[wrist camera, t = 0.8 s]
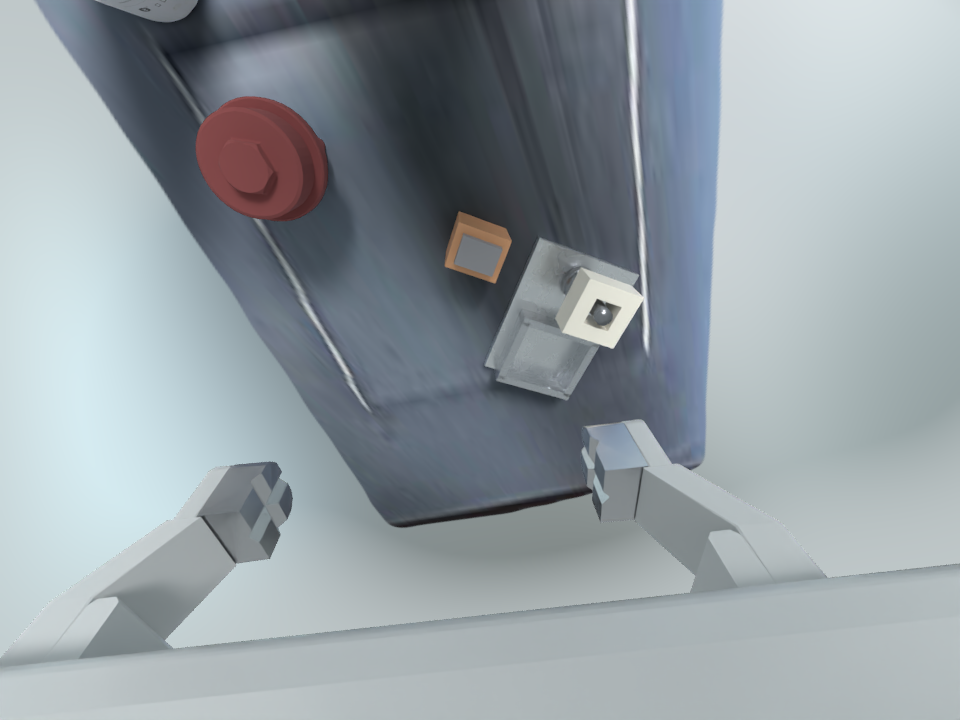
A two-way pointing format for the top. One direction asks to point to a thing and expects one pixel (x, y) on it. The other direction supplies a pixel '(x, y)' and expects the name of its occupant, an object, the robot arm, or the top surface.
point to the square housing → (581, 301)
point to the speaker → (155, 8)
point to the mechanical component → (262, 159)
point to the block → (477, 247)
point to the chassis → (548, 322)
